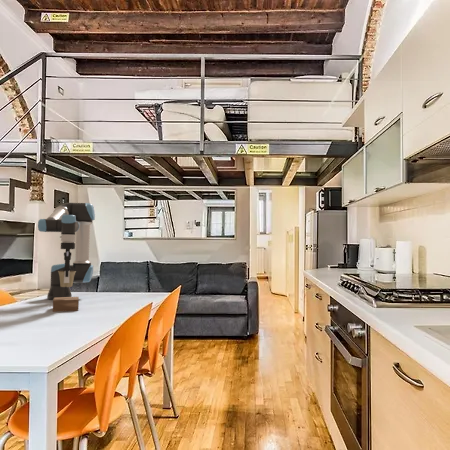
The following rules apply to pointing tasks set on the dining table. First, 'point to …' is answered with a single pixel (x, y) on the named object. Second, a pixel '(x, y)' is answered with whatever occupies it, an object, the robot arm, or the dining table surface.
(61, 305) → the walnut block
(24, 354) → the dining table surface
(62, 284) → the flower pot
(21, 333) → the dining table surface
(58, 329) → the dining table surface
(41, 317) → the dining table surface
